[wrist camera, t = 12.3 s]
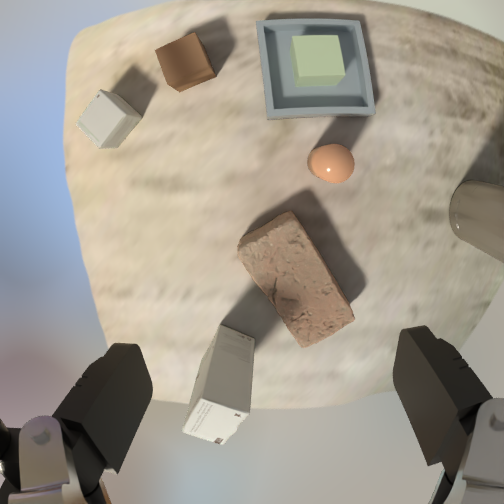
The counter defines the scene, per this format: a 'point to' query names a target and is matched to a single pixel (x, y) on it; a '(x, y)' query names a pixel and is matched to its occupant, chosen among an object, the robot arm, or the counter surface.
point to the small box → (108, 120)
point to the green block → (316, 60)
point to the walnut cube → (185, 62)
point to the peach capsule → (331, 163)
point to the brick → (295, 279)
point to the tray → (314, 97)
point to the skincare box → (222, 387)
